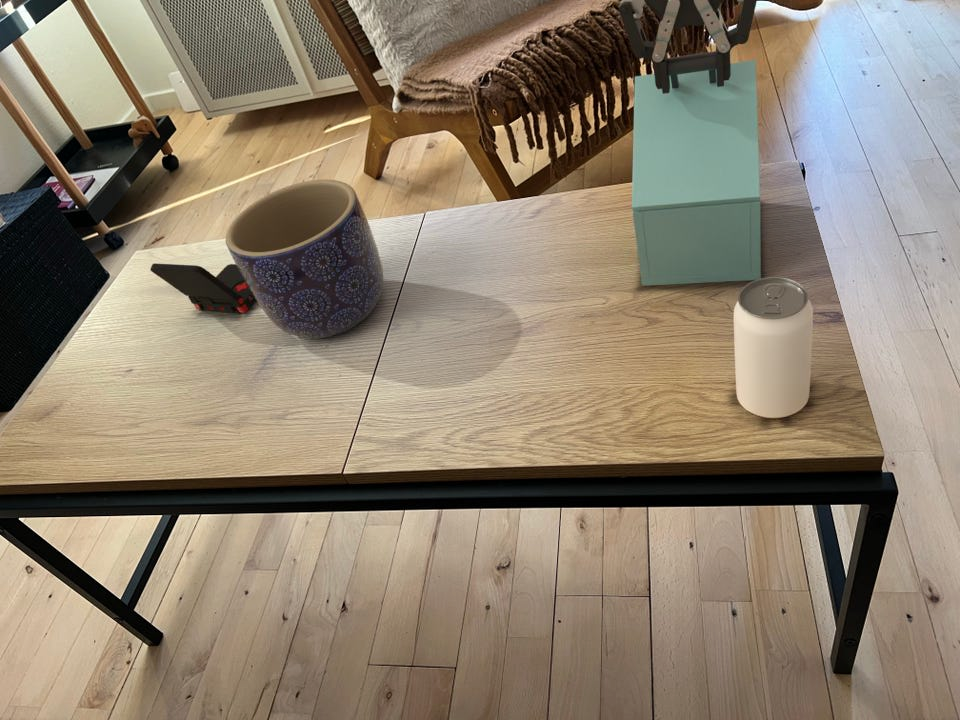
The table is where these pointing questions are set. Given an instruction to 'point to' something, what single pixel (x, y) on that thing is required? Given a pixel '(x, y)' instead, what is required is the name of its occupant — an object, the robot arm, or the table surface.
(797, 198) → the table surface
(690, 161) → the lid
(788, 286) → the can
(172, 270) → the black phone stand
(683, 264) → the teal open box
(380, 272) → the planter
